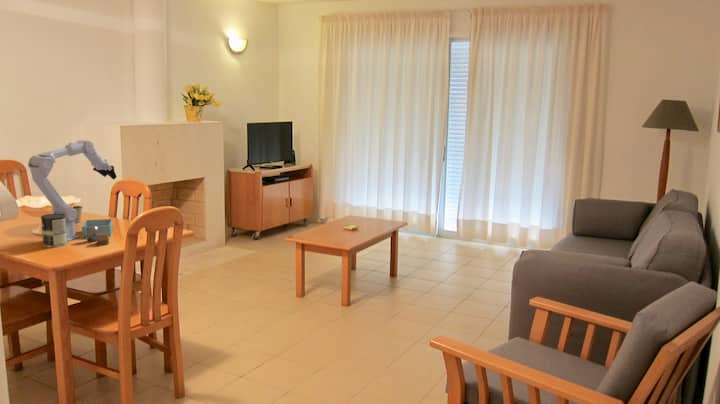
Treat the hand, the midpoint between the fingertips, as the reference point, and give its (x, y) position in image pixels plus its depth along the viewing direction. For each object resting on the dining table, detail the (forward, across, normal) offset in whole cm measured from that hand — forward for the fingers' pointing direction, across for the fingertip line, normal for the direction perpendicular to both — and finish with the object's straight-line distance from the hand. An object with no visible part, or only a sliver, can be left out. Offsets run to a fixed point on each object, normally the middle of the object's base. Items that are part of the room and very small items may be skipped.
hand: (110, 176), depth 309 cm
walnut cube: (+4, -28, +35) cm, 45 cm away
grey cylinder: (+5, -20, +35) cm, 40 cm away
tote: (+13, -7, +27) cm, 31 cm away
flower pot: (+21, +26, +23) cm, 41 cm away
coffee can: (-4, -12, +47) cm, 49 cm away
